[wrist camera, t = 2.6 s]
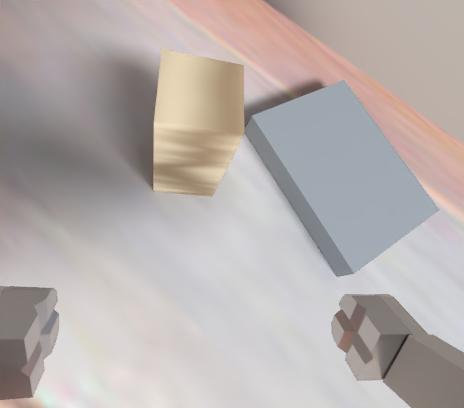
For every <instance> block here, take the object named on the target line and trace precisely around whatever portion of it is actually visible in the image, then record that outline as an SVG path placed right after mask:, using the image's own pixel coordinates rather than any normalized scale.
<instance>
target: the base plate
mask: <svg viewBox="0 0 464 408" xmlns="http://www.w3.org/2000/svg"><path fill="white" fill-rule="evenodd" d="M244 132H245V134H246V135H247V137H248V138H249V140H250V142H251V143H252V145H253V146H254V148H255V149H256V151H257V152H258V154H259V156H260V157H261V159H262V160H263V162H264V163H265V165H266V167H267V168H268V170H269V171H270V173H271V174H272V176H273V178H274V179H275V181H276V182H277V184H278V185H279V187H280V188H281V190H282V192H283V193H284V195H285V196H286V198H287V199H288V201H289V203H290V204H291V206H292V207H293V209H294V210H295V212H296V213H297V215H298V217H299V218H300V220H301V221H302V223H303V224H304V226H305V228H306V229H307V231H308V232H309V234H310V235H311V237H312V239H313V240H314V242H315V243H316V245H317V246H318V248H319V249H320V251H321V253H322V254H323V256H324V257H325V259H326V260H327V262H328V264H329V265H330V267H331V268H332V270H333V271H334V273H335V274H336V276H337V277H339V276H344V275H349V274H354V273H355V272H357V271H358V270H360V269H361V268H362V267H364V266H365V265H366V264H368V263H369V262H370V261H372V260H373V259H374V258H376V257H377V256H378V255H380V254H381V253H382V252H384V251H385V250H386V249H388V248H389V247H390V246H392V245H393V244H394V243H396V242H397V241H398V240H400V239H401V238H402V237H404V236H405V235H406V234H408V233H409V232H410V231H412V230H413V229H415V228H416V227H417V226H419V225H420V224H421V223H423V222H424V221H425V220H427V219H428V218H429V217H431V216H432V215H433V214H435V213H436V212H437V211H439V209H438V207H437V206H436V205H435V203H434V202H433V201H432V199H431V198H430V196H429V195H428V194H427V192H426V191H425V190H424V188H423V187H422V185H421V184H420V183H419V181H418V180H417V179H416V177H415V176H414V175H413V173H412V172H411V170H410V169H409V168H408V166H407V165H406V164H405V162H404V161H403V160H402V158H401V157H400V155H399V154H398V153H397V151H396V150H395V149H394V147H393V146H392V145H391V143H390V142H389V140H388V139H387V138H386V136H385V135H384V134H383V132H382V131H381V130H380V128H379V127H378V125H377V124H376V123H375V121H374V120H373V119H372V117H371V116H370V115H369V113H368V112H367V110H366V109H365V108H364V106H363V105H362V104H361V102H360V101H359V100H358V98H357V97H356V95H355V94H354V93H353V91H352V90H351V89H350V87H349V86H348V85H347V83H346V82H345V80H343V81H340V82H337V83H335V84H332V85H330V86H327V87H324V88H322V89H319V90H317V91H314V92H312V93H309V94H306V95H304V96H301V97H299V98H296V99H293V100H291V101H288V102H286V103H283V104H281V105H278V106H275V107H273V108H270V109H268V110H265V111H263V112H260V113H257V114H255V115H252V116H251V118H250V120H249V122H248V124H247V126H246V128H245V130H244Z"/></svg>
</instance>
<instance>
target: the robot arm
mask: <svg viewBox="0 0 464 408" xmlns="http://www.w3.org/2000/svg"><path fill="white" fill-rule="evenodd" d="M57 301H58V298H57V290H56V289H54V288H39V287H15V286H10V287H5V286H0V400H6V399H19V398H31V397H33V395H34V393H35V391H36V388H37V386H38V384H39V381H40V379H41V377H42V374H43V372H44V361H43V359H45V358H46V357H47V356H48V355H50V354H51V353H52V350H53V348H54V345H55V343H56V339H57V335H58V331H59V314H58V313H57V312H56V311H55V310H54V307H55V305H56V303H57ZM339 306H340V308H341V310H340V311H338V312H337V313H336V314H335V315H334V317H333V320H332V323H331V326H332V335H333V338H334V341H335V342H336V344H337V346H338V347H339V348H340V349H342V350H343V351H344V352H345V353H346V357H345V360H346V362H347V364H348V366H349V367H350V369H351V371H352V373H353V374H354V376H355V378H356V380H383V382H384V383H385V384H386V385H387V386H388V387H389V388H390V389H392V390H393V391H394V392H395V393H396V394H397V395H398V396H399V397H400V398H401V399H403V400H404V401H405V402H406V403H407V404H408V405H409V406H410V407H411V408H464V353H463V352H462V351H460V350H458V349H456V348H455V347H453V346H451V345H450V344H448V343H446V342H444V341H443V340H441V339H439V338H438V337H436V336H434V335H428V334H427V332H426V331H425V330H424V329H423V328H422V327H421V326H420V325H419V324H418V323H417V322H416V321H415V320H414V318H413V317H412V316H411V315H410V314H409V313H408V312H407V311H406V310H405V309H404V308H403V307H402V305H401V304H400V303H399V302H398V301H397V300H396V299H395V298H394V297H392V296H391V295H389V294H374V295H365V294H345V295H344V296H343V297H342V298H341V300H340V303H339Z"/></svg>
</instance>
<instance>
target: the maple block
mask: <svg viewBox="0 0 464 408" xmlns="http://www.w3.org/2000/svg"><path fill="white" fill-rule="evenodd" d="M243 136H244V65H240V64H235V63H230V62H225V61H219V60H214V59H209V58H204V57H199V56H194V55H189V54H184V53H179V52H174V51H169V50H164V49H162V51H161V60H160V69H159V78H158V88H157V97H156V106H155V115H154V166H153V191H159V192H169V193H180V194H191V195H202V196H213V194H214V192H215V190H216V188H217V187H218V185H219V183H220V181H221V179H222V177H223V175H224V173H225V171H226V169H227V167H228V165H229V163H230V161H231V159H232V157H233V155H234V153H235V151H236V150H237V148H238V146H239V144H240V142H241V140H242V138H243Z"/></svg>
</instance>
